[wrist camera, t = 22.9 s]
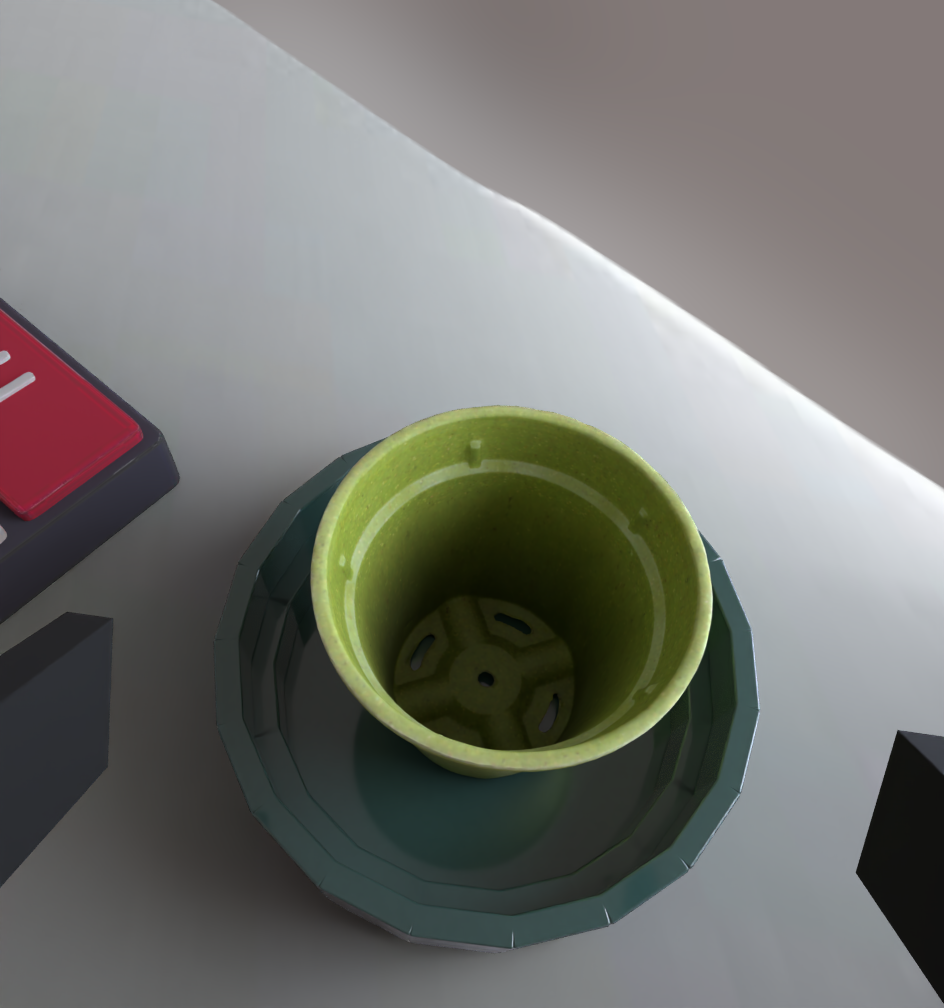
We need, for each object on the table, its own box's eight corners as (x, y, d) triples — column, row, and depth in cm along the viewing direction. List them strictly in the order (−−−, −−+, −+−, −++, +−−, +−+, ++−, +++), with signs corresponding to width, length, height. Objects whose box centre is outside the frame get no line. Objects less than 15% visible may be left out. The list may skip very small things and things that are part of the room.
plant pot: (282, 756, 23) (226, 655, 16) (414, 519, 28) (418, 357, 21) (567, 893, 22) (650, 851, 15) (655, 618, 27) (750, 482, 19)
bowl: (144, 693, 25) (96, 641, 21) (464, 428, 31) (472, 352, 27) (501, 1091, 20) (525, 1119, 16) (788, 678, 27) (852, 628, 23)
